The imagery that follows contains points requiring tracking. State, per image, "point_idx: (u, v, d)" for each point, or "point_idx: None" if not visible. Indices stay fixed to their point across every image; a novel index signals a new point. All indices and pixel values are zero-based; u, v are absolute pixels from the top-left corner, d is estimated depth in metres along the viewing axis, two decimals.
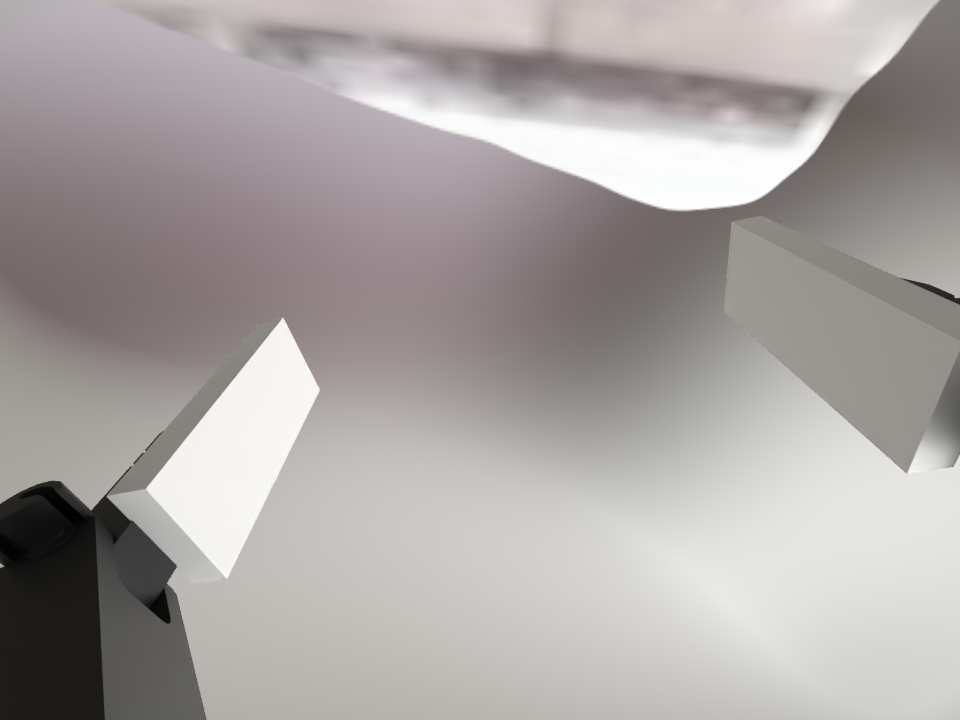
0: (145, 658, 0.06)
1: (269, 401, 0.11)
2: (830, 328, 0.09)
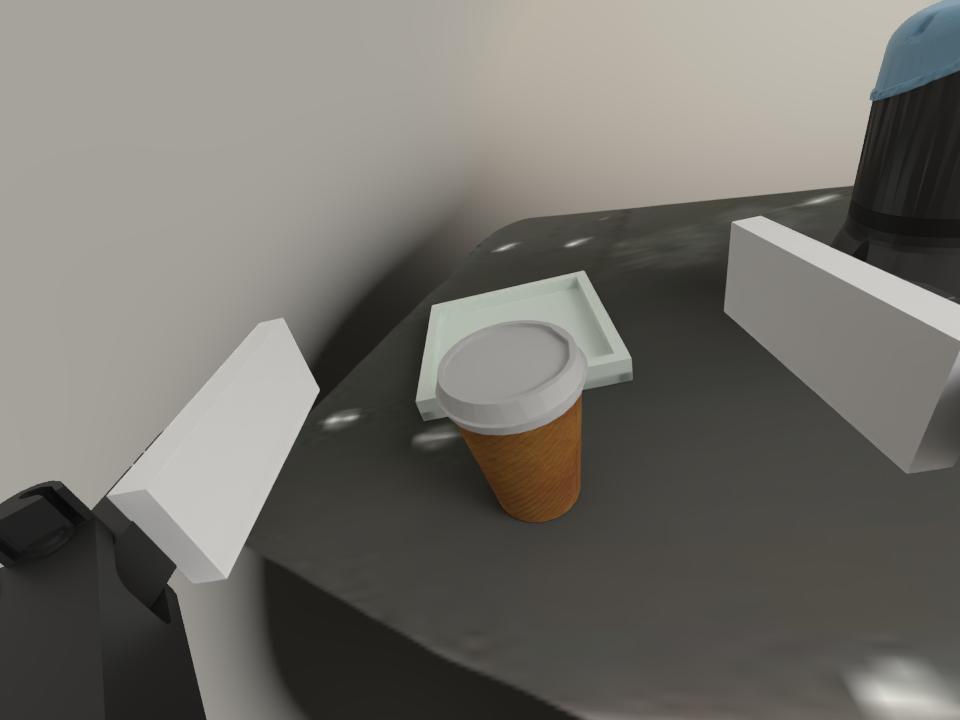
0: (145, 658, 0.06)
1: (269, 401, 0.11)
2: (830, 328, 0.09)
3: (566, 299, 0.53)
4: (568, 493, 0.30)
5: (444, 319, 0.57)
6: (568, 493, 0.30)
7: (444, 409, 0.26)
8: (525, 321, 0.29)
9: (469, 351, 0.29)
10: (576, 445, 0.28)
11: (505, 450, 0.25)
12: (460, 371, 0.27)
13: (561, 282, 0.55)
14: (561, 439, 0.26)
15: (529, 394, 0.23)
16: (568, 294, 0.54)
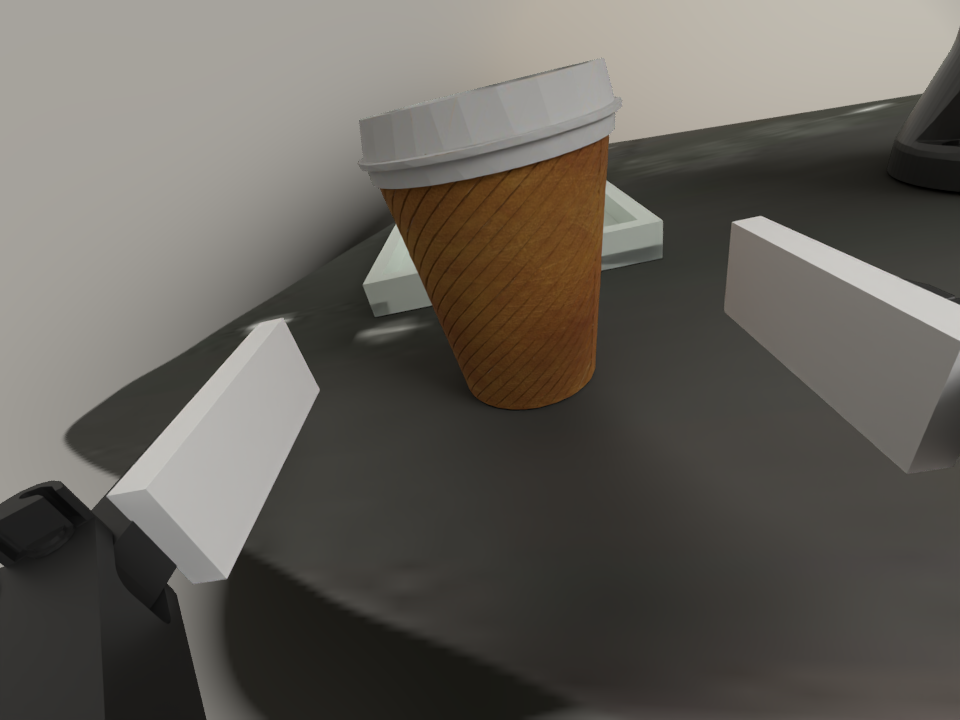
0: (145, 658, 0.06)
1: (269, 401, 0.11)
2: (830, 328, 0.09)
3: None
4: (579, 358, 0.18)
5: None
6: (578, 356, 0.18)
7: (367, 163, 0.15)
8: (514, 79, 0.18)
9: None
10: (596, 259, 0.16)
11: (472, 234, 0.14)
12: None
13: None
14: (573, 222, 0.15)
15: (517, 81, 0.12)
16: None
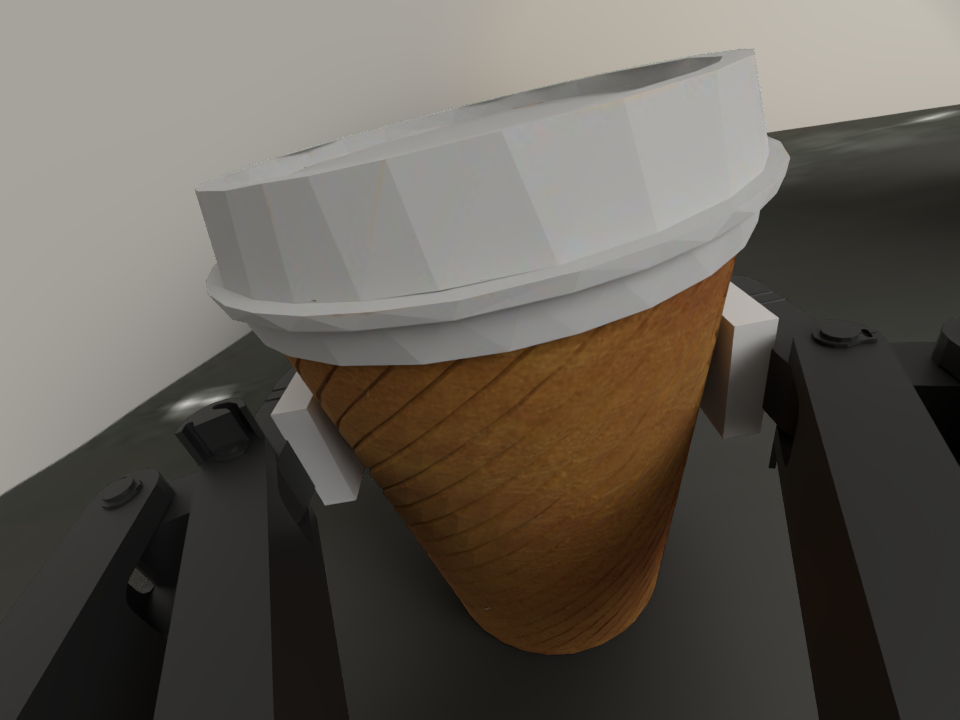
0: (296, 572, 0.07)
1: None
2: None
3: None
4: (644, 581, 0.10)
5: None
6: (643, 578, 0.10)
7: (214, 281, 0.07)
8: (530, 90, 0.10)
9: (362, 153, 0.10)
10: (690, 438, 0.09)
11: (447, 447, 0.06)
12: None
13: None
14: (668, 408, 0.07)
15: (568, 111, 0.04)
16: None
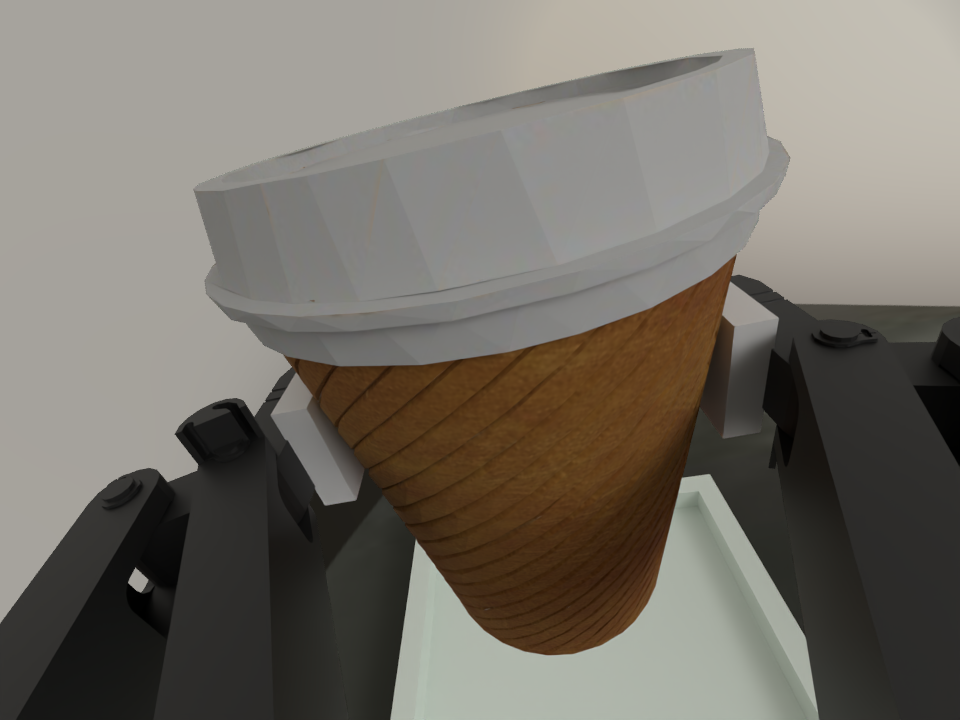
0: (296, 572, 0.07)
1: None
2: None
3: (683, 543, 0.27)
4: (644, 581, 0.10)
5: None
6: (643, 579, 0.10)
7: (213, 281, 0.07)
8: None
9: (362, 153, 0.10)
10: (690, 439, 0.09)
11: (446, 447, 0.06)
12: None
13: None
14: (668, 409, 0.07)
15: (566, 110, 0.04)
16: (683, 526, 0.28)
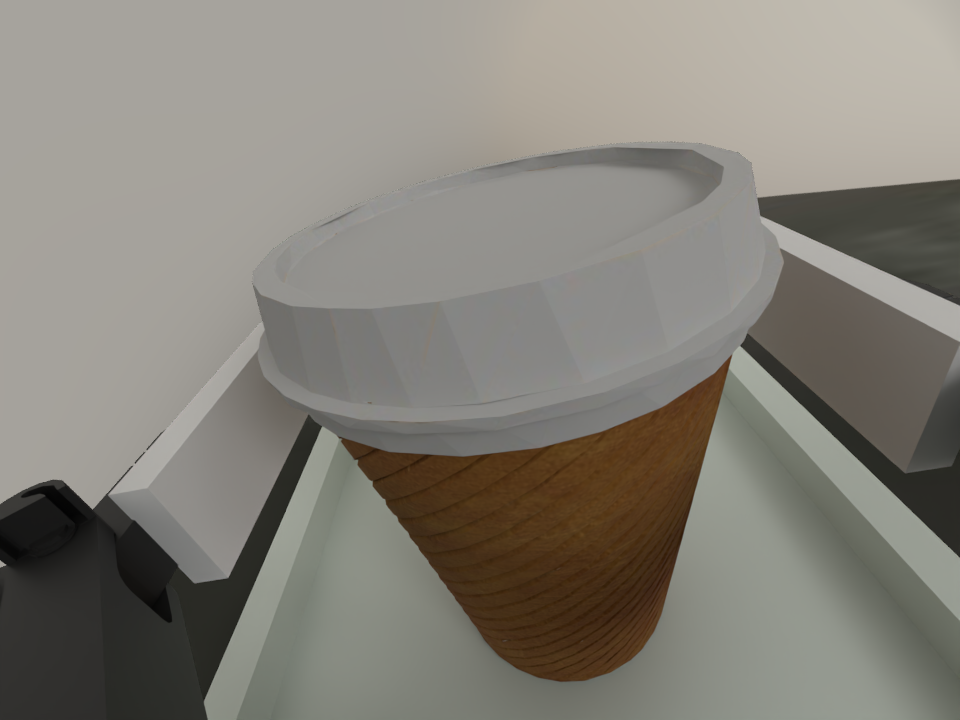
0: (147, 657, 0.06)
1: (270, 400, 0.12)
2: (828, 328, 0.09)
3: None
4: (651, 614, 0.11)
5: None
6: (650, 612, 0.11)
7: (267, 360, 0.07)
8: (543, 154, 0.11)
9: (389, 218, 0.10)
10: (694, 488, 0.09)
11: (478, 513, 0.07)
12: (345, 251, 0.09)
13: None
14: (675, 473, 0.07)
15: (593, 258, 0.05)
16: None
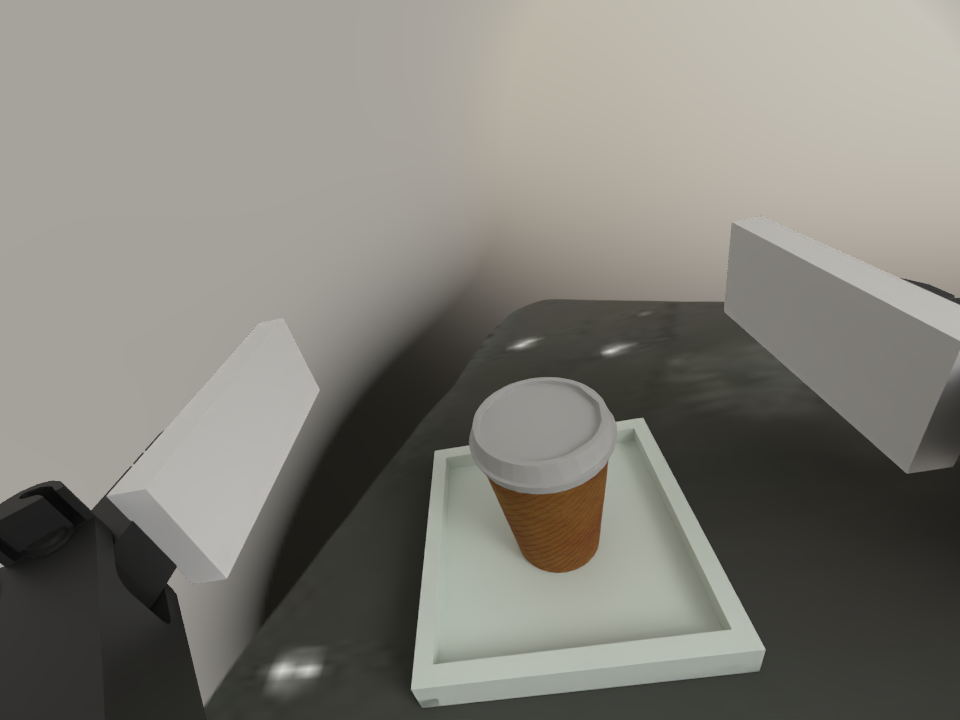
0: (145, 658, 0.06)
1: (269, 401, 0.11)
2: (830, 328, 0.09)
3: (621, 463, 0.39)
4: (590, 546, 0.31)
5: (451, 473, 0.42)
6: (590, 545, 0.31)
7: (480, 465, 0.27)
8: (554, 378, 0.31)
9: (501, 406, 0.30)
10: (601, 501, 0.29)
11: (537, 507, 0.27)
12: (494, 428, 0.28)
13: None
14: (590, 497, 0.27)
15: (566, 457, 0.24)
16: (623, 453, 0.40)
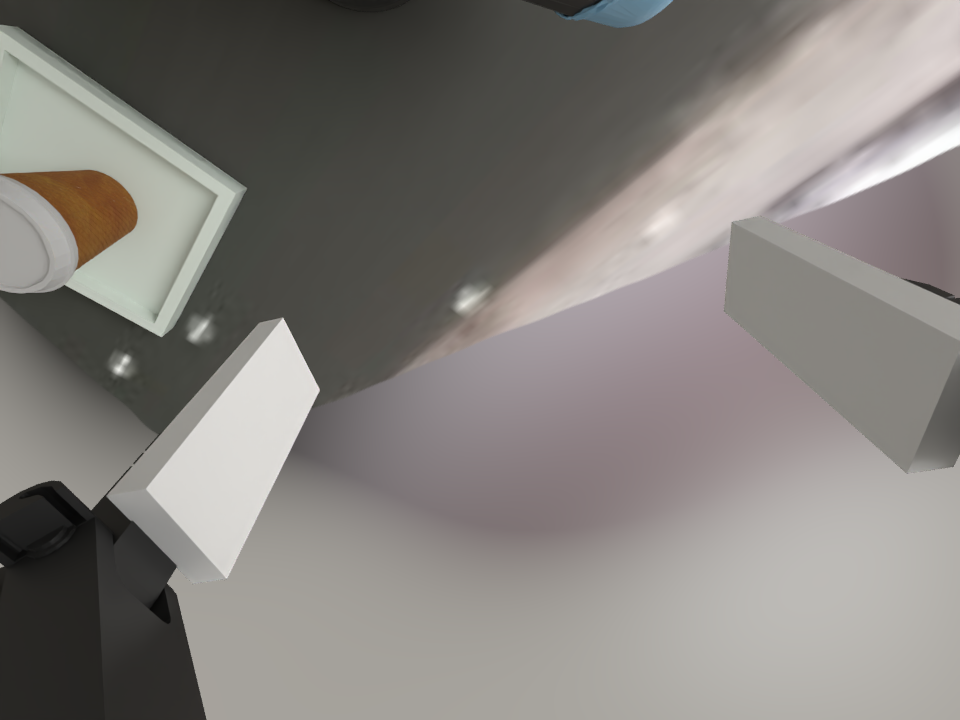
0: (145, 658, 0.06)
1: (269, 401, 0.11)
2: (830, 328, 0.09)
3: (49, 93, 0.38)
4: (125, 208, 0.42)
5: None
6: (124, 209, 0.42)
7: None
8: None
9: None
10: (93, 206, 0.38)
11: (81, 264, 0.38)
12: None
13: (3, 71, 0.36)
14: (88, 229, 0.37)
15: (52, 262, 0.34)
16: (35, 79, 0.38)
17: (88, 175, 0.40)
